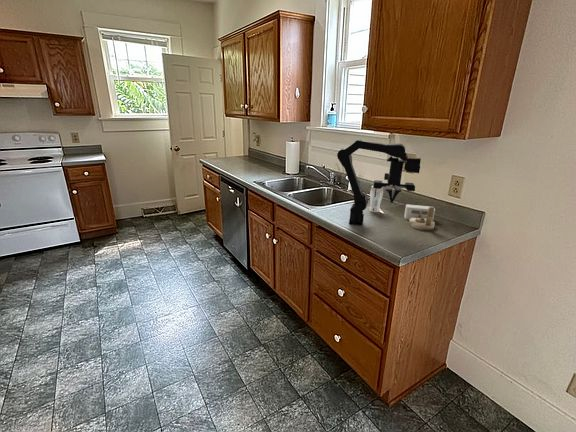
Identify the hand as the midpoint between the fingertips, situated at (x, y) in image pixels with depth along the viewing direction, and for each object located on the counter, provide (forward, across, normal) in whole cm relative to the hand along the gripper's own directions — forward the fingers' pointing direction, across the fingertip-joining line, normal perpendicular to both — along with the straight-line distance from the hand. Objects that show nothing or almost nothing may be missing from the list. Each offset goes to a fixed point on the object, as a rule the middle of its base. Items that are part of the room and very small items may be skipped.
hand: (391, 202), depth 153 cm
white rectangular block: (+13, -17, -17) cm, 27 cm away
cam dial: (+13, -17, -7) cm, 22 cm away
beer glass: (+13, +6, -24) cm, 28 cm away
